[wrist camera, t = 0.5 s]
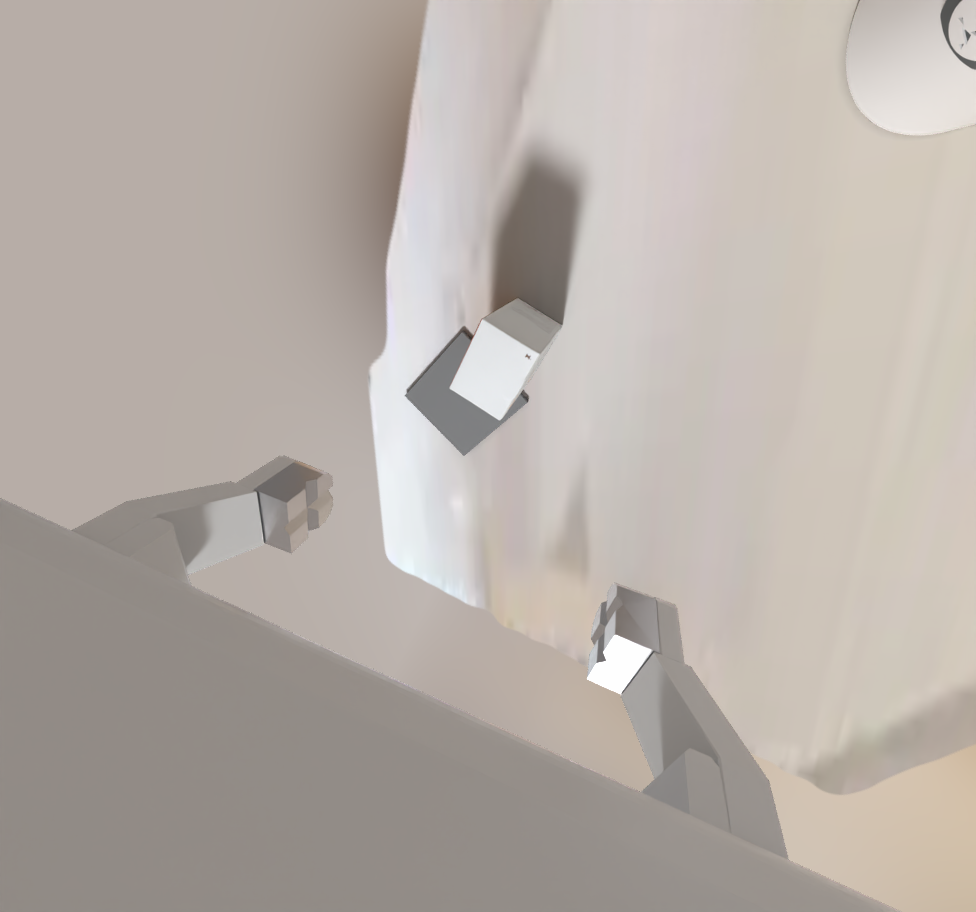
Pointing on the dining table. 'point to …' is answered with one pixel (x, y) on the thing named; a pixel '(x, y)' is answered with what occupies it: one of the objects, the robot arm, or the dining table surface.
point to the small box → (504, 356)
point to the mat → (454, 401)
